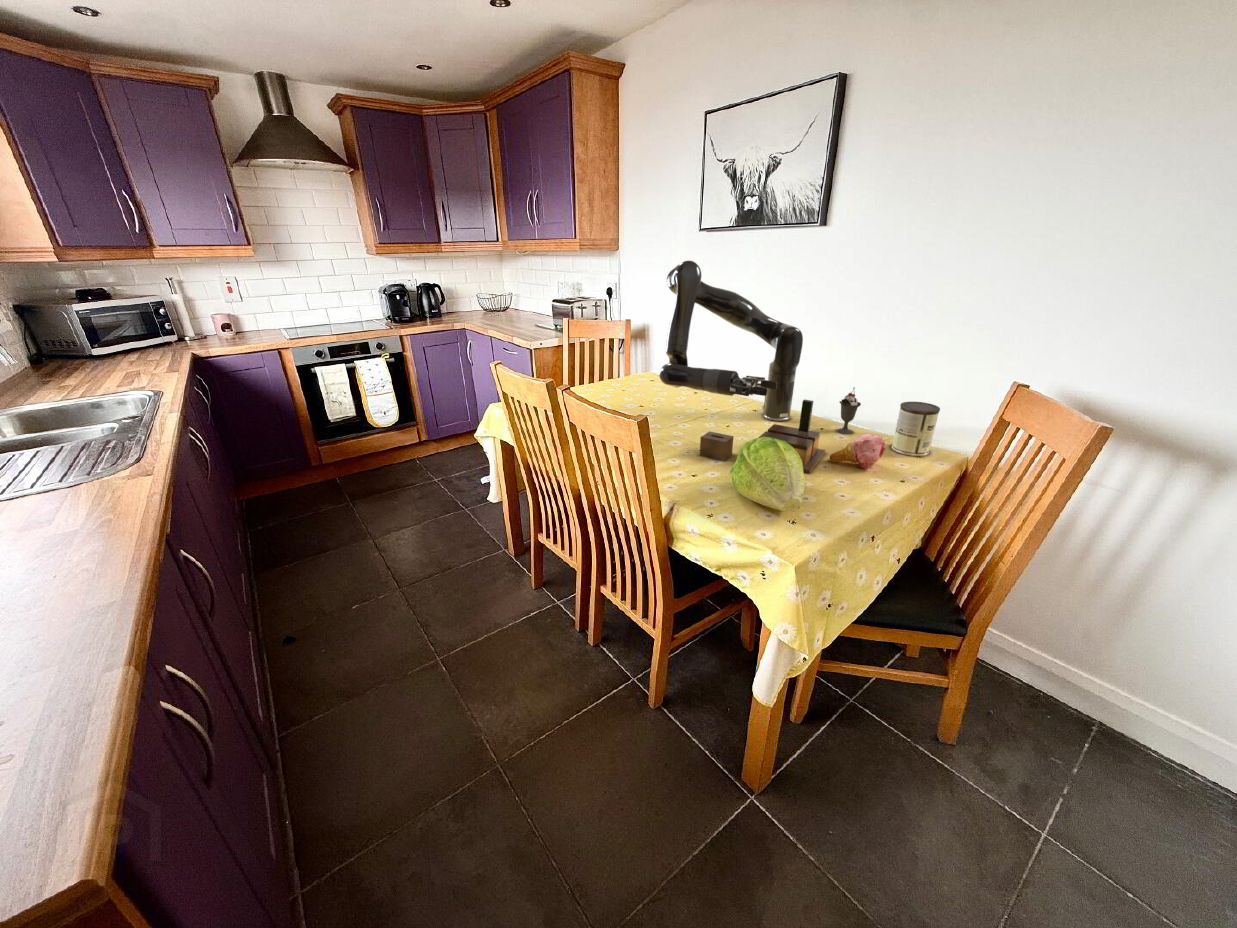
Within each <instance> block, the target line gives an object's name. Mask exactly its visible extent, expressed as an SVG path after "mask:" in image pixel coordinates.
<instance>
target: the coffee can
mask: <svg viewBox="0 0 1237 928" xmlns="http://www.w3.org/2000/svg"><path fill="white" fill-rule="evenodd" d="M899 407H900V408H899V413H898V417H897V420H896V421H897V422H896V426H895V431H894V436H893V440H892V444H891V450H893V451H894V452H896V453H899V454H902V455H907V456H913V457H924V456H928V455H929V454H930V449H931V445H932V442H933V438H934V437H933V436H934V433H935V429H936V426H937V421H938V417H939V413H940V411H941V407H940V406H938V405H936V404H933V403H928V402H924V401H904V402H901V403H900V404H899Z"/></svg>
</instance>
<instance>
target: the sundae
mask: <svg viewBox="0 0 1237 928" xmlns="http://www.w3.org/2000/svg"><path fill="white" fill-rule="evenodd" d="M855 389H856V387H855V386H854V387H853V389H852V391H851V392H849V393H848V394H846V395H845V396H844V397H843V399H841V400H839V404H840V418H841V420H842V421H843V423H844V424H843V427H842V428H838V429H837V430H836V432H837V433H840V434H842V435H843V434H844V435H851V434H853V433H854V431H853V430H851V429H849V423H850V422H852V421H853V420H854V418H855V417H856V414H857V410H858V408H859V407H861V405H862V403H861V402H859V401H858V399H857V397H856V394H855V393H854V391H855Z"/></svg>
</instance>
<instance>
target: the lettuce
mask: <svg viewBox="0 0 1237 928" xmlns="http://www.w3.org/2000/svg"><path fill="white" fill-rule="evenodd" d="M729 474H730V478H731V481H732V485H733V487H734V488H735V489H736V491H737V492H738V493H739V494H740V495H741V496H743V497H745V498H746V499H748V500H750V501H752V502H754V503H757V504H759V505H762V506H765V507H768V508H769V509H773V510H777V511H783V512H790V513H791V512H792V513H793V512H796V511H797V510H800V509H801V505H802V504H803V500H804V495H805V492H806V488H807V483H806V477H805V472H803V462H802V460H801V458H800V456H799V454H798V452H797V451H796V450H795V449H794V448H793V447H792V446H791V445H789V444H788V443H787V442H785V441H783V440H778V439H774V438H770V437H762V438H759V437H756V438H753V439H751V440H748V441H746V442H745V443H744V444H743V445H742V447H741V448H740V450H739V451H738V453H737V456H736V459H735V462H734V464H733V465H732V467H731V469H730V470H729Z"/></svg>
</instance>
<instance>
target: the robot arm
mask: <svg viewBox="0 0 1237 928" xmlns="http://www.w3.org/2000/svg"><path fill="white" fill-rule="evenodd" d="M702 277H703V276H702V269H701V267H700V265H699V263H697V262H695V261H694V260H684V261H682V262H680V263H678V264H677V265H676V266H675V267H673V268H672V269H671V270H670V271H669V272H668V274H667V276H666V285H667V287H668V289H669V290H670V291H671V292H672V293H673V294H674V295H676V300H675V305H674V309H673V313H672V316H671V319H670V323H669V325H668V328H667V329H668V330H667V335H666V344H665V355H666V356H667V357H668V359H669V363H666V364H664V365H662V366H661V367H660V369H659V372H658V377H659V380H660V381H661V382H662V383H663V384H664V385H666V386H669V387H672V388H681V387H684V388H688V389H691V390H695V391H702V392H707V393H711V394H716V395H723V396H730V397H732V396H734V395H737V396H743V397H750V396H754V395H756V396H763V397H764V403H763V411H762V415H763V418H764V419H766V420H768V421H773V422H784V421H789V420H790V419H791V412H792V406H793V405H792V404H793V397H794V389H795V382H796V381H795V380H796V374H797V369H798V366H799V364H800V362H801V356H802V350H803V344H804V336H803V331H801V329H800V328H798V327H796V326H794V325H790V324H787V323H785V322H781V321H779V320H777V319H774V318H773V317H770V316H769V315H768V314H766V313H764V312H763V311H762V310H761V309H760V308H759V307H758V306H757V305H756V304H755V303H753V301H751V300H749V299H747V298H746V297H744V296H743V295H740V294H739V293H737V292H734V291H732V290H729V289H725V288H720V287H715V286H712V285H710V284H707V283H706V282H704V281H702ZM695 304H697V305H699V306H700V307H703V308H704V309H705V310H707V311H709V312H710V313H712V314H713V315H715V316H717V317H719V318H720V319H722V320H723V321H725V322H727V323H729V324H731V325H733V326H734V327H736V328H739V329H741V330H743V331H745V332H748V333H751V334H753V335H755V336H757V337H758V338H760V339H762V340H763V341H764V342H765V343H767V344H768V345H769V346H771V348H773V349H774V350H775V353H774V359H773V360H772V361H771V362H770V363H769V366H768V373H767V374H768V376H767V380H766V377H763V376H753V375H745V376H743V377H740V376H739V373H738V372H737V370H729V369H719V368H706V367H705V368H704V367H693V366H689V361H688V360H689V359H688V350H689V349H688V347H689V341H690V340H689V338H690V331H691V325H692V319H693V313H694V309H695ZM759 382H760V383H759Z"/></svg>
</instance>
